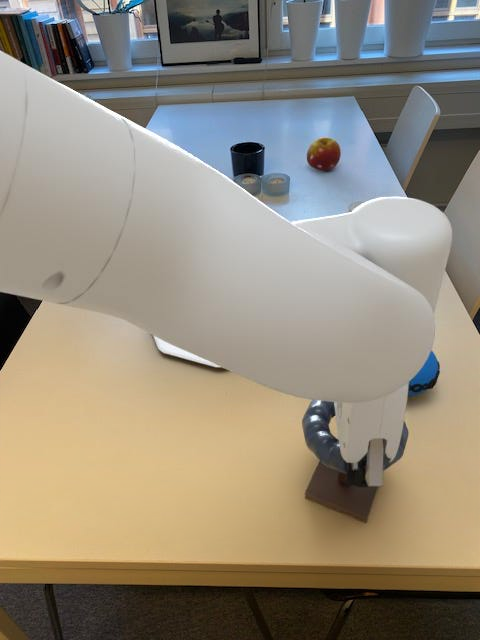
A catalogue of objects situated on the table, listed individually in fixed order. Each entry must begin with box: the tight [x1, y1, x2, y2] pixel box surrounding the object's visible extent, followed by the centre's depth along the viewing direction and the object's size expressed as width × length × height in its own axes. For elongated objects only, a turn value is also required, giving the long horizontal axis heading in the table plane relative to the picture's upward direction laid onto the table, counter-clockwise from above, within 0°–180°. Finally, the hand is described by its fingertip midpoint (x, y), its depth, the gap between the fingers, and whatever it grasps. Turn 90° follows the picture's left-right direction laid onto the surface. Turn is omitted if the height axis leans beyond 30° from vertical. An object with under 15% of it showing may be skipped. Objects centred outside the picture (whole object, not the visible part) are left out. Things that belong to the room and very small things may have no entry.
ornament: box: [407, 349, 441, 396], centre depth 73 cm, size 9×9×10 cm
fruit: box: [306, 136, 342, 172], centre depth 138 cm, size 10×9×8 cm
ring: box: [301, 400, 409, 473], centre depth 56 cm, size 12×12×3 cm
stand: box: [304, 459, 385, 524], centre depth 60 cm, size 8×8×10 cm
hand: (357, 464), depth 54 cm, fingers closed on ring, 3 cm apart
